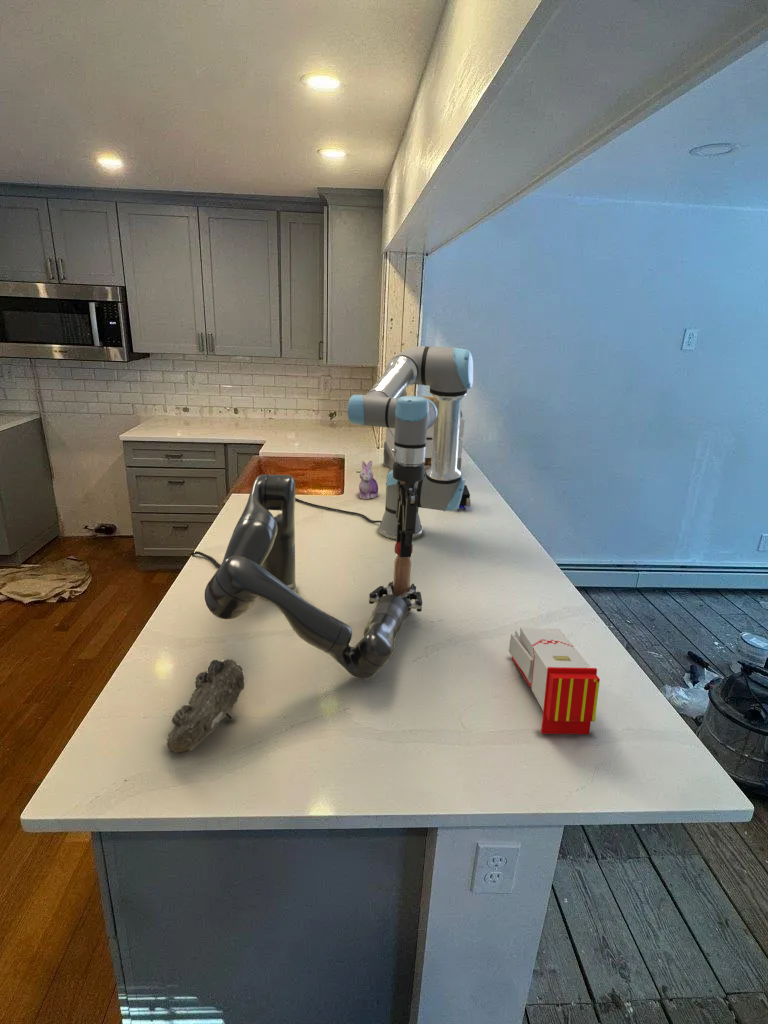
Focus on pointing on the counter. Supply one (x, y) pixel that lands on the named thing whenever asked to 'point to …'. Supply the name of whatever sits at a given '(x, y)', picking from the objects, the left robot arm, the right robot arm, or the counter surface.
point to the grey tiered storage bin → (391, 437)
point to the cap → (397, 548)
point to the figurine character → (465, 498)
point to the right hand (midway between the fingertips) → (403, 552)
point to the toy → (557, 679)
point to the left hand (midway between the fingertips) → (403, 585)
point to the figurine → (367, 482)
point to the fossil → (206, 705)
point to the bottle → (402, 575)
